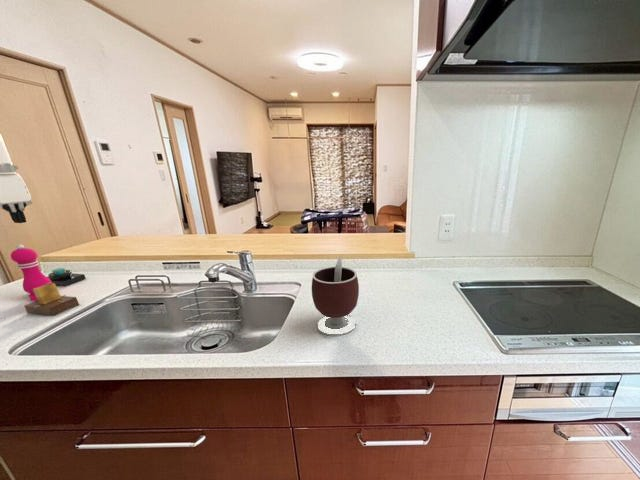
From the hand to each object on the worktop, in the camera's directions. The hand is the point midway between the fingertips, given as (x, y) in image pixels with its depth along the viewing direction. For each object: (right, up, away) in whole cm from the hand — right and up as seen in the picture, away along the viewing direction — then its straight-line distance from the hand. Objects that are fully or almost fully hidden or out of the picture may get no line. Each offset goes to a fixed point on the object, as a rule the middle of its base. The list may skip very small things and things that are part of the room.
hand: (20, 222), depth 108 cm
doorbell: (+2, -22, +13) cm, 26 cm away
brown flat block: (+21, -31, -8) cm, 38 cm away
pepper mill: (+8, -28, 0) cm, 29 cm away
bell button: (+2, -19, +12) cm, 22 cm away
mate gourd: (+118, -35, -15) cm, 124 cm away
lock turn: (+21, -28, -9) cm, 36 cm away
